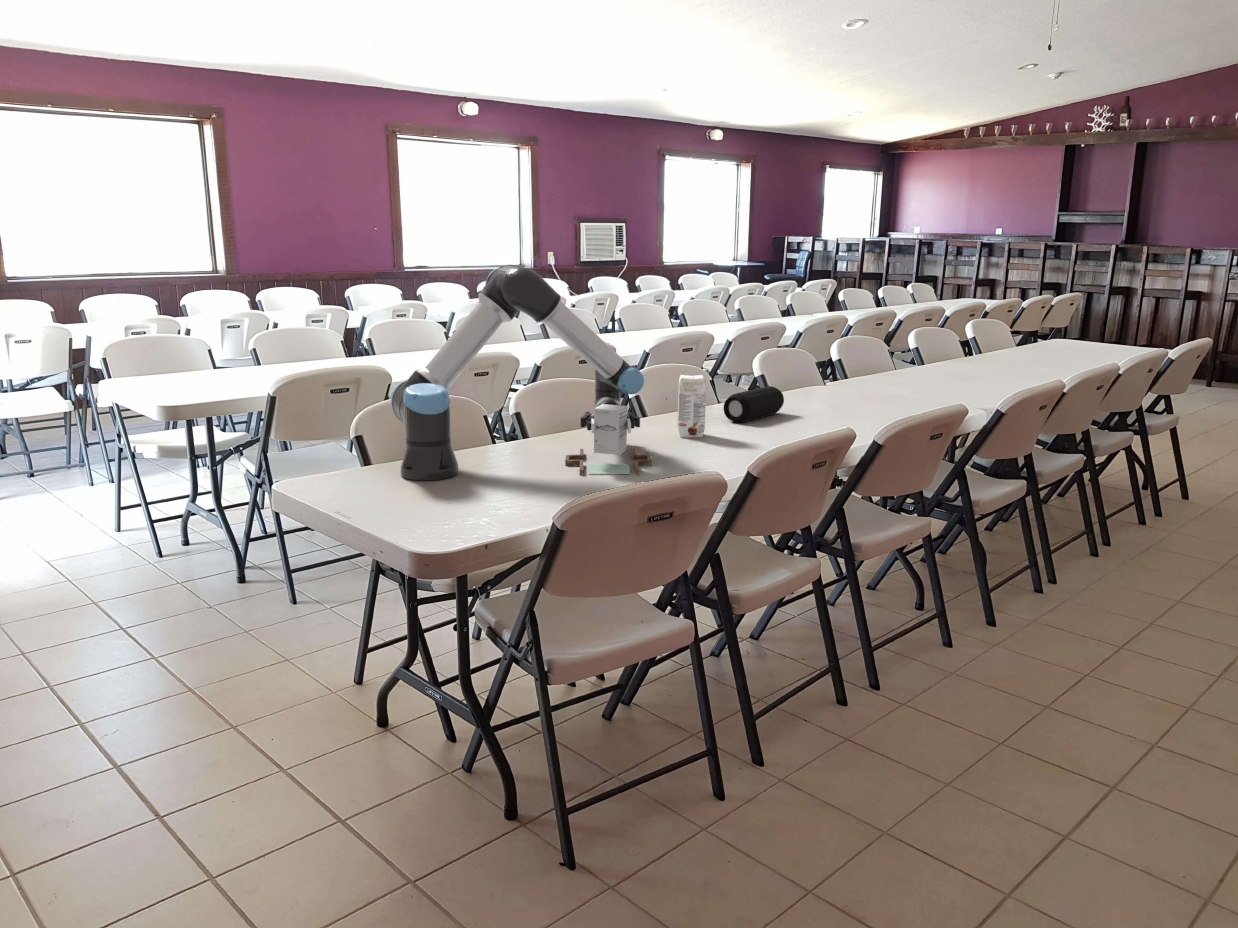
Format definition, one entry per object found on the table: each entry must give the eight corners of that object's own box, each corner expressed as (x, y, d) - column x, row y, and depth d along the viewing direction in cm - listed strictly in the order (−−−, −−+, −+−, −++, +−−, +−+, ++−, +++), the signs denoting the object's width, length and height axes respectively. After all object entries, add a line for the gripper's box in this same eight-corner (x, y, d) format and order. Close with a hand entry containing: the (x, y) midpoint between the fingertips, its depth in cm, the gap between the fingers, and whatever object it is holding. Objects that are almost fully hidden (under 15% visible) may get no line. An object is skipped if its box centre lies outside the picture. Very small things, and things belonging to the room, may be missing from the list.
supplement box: (593, 453, 258) (593, 408, 255) (602, 447, 265) (602, 403, 262) (618, 455, 256) (618, 410, 253) (627, 450, 263) (627, 405, 260)
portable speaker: (761, 411, 341) (763, 383, 338) (785, 414, 334) (787, 386, 332) (720, 421, 322) (721, 392, 320) (745, 426, 316) (746, 396, 313)
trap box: (564, 475, 252) (564, 469, 252) (566, 453, 276) (566, 448, 275) (654, 475, 253) (654, 469, 253) (648, 453, 277) (648, 448, 276)
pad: (588, 474, 253) (588, 473, 253) (588, 465, 263) (588, 464, 263) (630, 474, 254) (630, 473, 254) (628, 465, 263) (628, 464, 263)
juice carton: (705, 438, 297) (706, 378, 292) (677, 438, 297) (679, 378, 292) (703, 433, 304) (705, 374, 299) (676, 432, 304) (678, 374, 299)
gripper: (645, 424, 278) (651, 442, 256) (571, 424, 277) (570, 442, 255) (646, 399, 276) (652, 414, 254) (571, 399, 275) (570, 414, 253)
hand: (611, 428), depth 254 cm, fingers closed on supplement box, 9 cm apart
